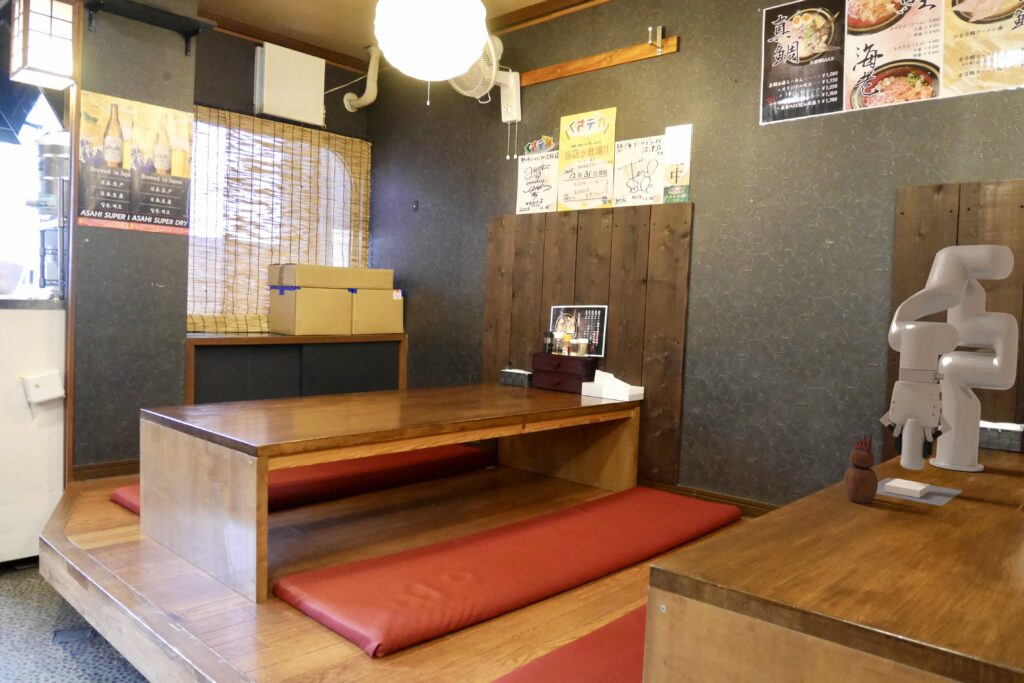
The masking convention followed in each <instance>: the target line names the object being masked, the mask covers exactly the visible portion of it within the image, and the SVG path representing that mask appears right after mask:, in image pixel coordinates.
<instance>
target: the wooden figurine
mask: <svg viewBox="0 0 1024 683" xmlns="http://www.w3.org/2000/svg"><path fill="white" fill-rule="evenodd" d="M872 440H873V434H872V433H870V434H869V436H868V439H867V435H866V434H864V435H863V438H860V439H859V441H856V442H855V446H854V449H853V450H852V451H851V453H850V456H849V459H850V460H849V461H850V463H851V466H849V467H848V468H847V470H845V473H844V478H843V484H844V490H845V493H846V496H847V498H848V499H849V500H850V501H851V502H854V503H857V504H870V503H871V502H873V501H874V499H875V497H876V495H877V494H876V492H877V487H878V482H879V481H878V476H877V473H876V472H875V470H874V469H873V468H872V467H874V464H875V454H874V453H873V451H872V445H873V444H872V442H873V441H872Z"/></svg>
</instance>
